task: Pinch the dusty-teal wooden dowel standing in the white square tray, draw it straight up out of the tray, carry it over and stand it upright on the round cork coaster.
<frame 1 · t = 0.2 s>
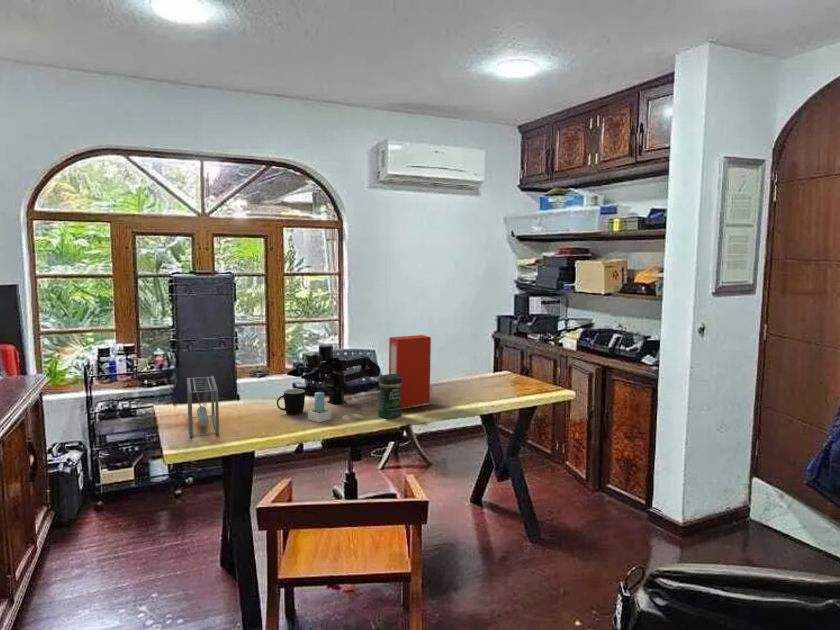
hand: (294, 375, 252), 17 cm above the table, tool horizontal, fingers open, 9 cm apart
mug: (291, 414, 253), on the table
white square tray: (319, 420, 245), on the table
dowel: (319, 418, 245), resting on white square tray
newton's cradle: (202, 426, 235), on the table
coaster: (353, 418, 248), on the table
file binder: (409, 406, 269), on the table
coffee jar: (390, 417, 251), on the table
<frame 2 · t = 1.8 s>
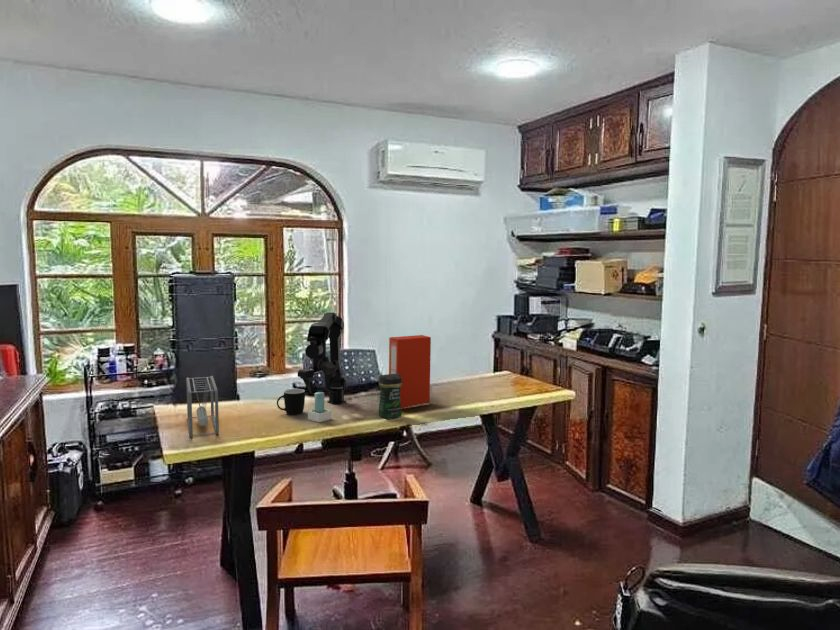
hand: (319, 391, 244), 12 cm above the table, tool pointing down, fingers open, 9 cm apart
nothing on the table moved.
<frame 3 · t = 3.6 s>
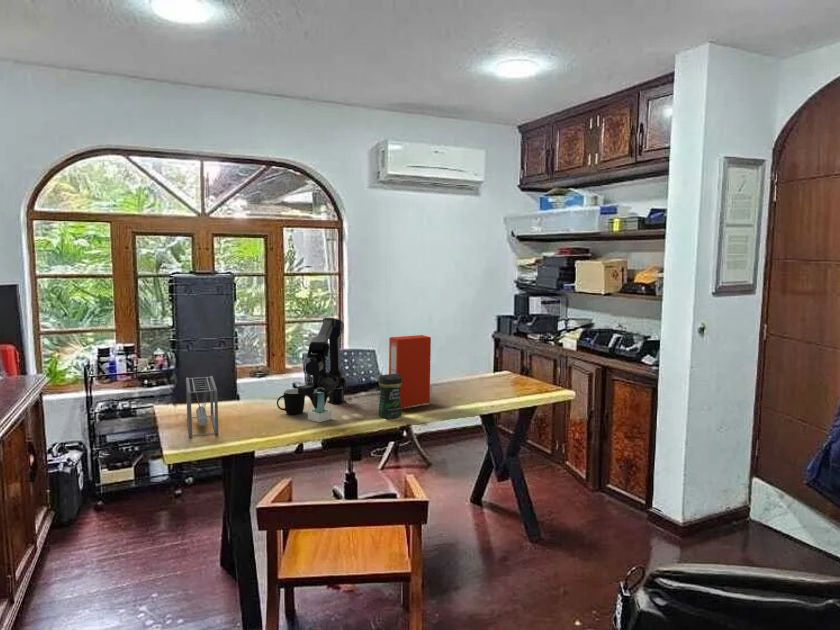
hand: (319, 407, 244), 6 cm above the table, tool pointing down, fingers closed on dowel, 4 cm apart
dowel: (319, 418, 245), resting on white square tray, touching gripper
everything else where it was.
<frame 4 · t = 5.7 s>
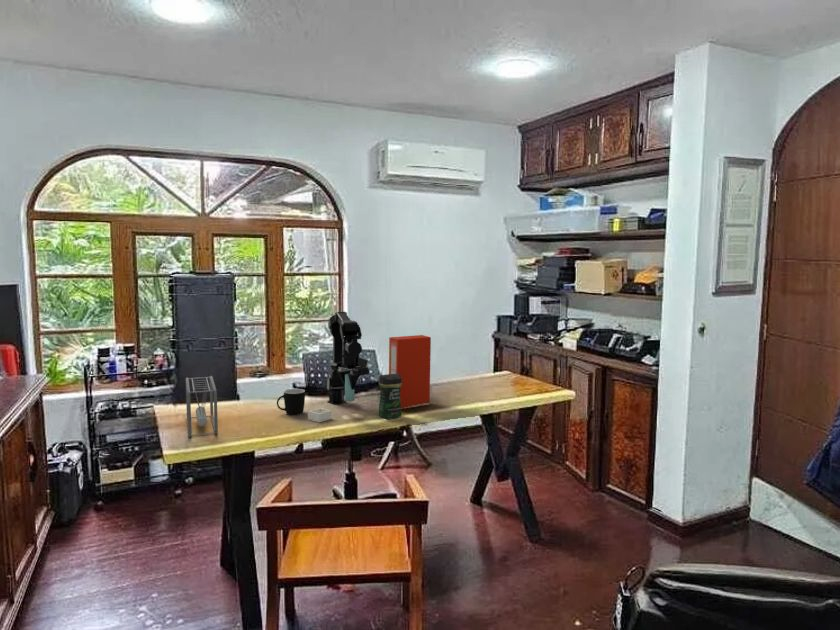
hand: (349, 388, 246), 13 cm above the table, tool pointing down, fingers closed on dowel, 4 cm apart
dowel: (349, 400, 247), point 8 cm above the table, touching gripper
everything else where it was.
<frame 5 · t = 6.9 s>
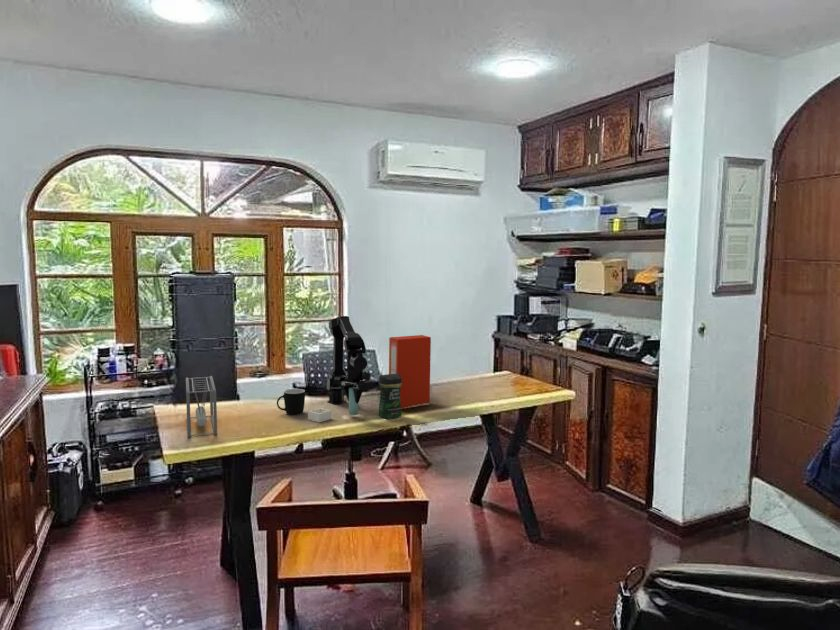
hand: (353, 402, 247), 7 cm above the table, tool pointing down, fingers closed on dowel, 4 cm apart
dowel: (353, 413, 248), point 2 cm above the table, touching gripper
everything else where it was.
when the fingers open (6 cm above the table, at t = 7.8 s): dowel stays where it is, resting on coaster.
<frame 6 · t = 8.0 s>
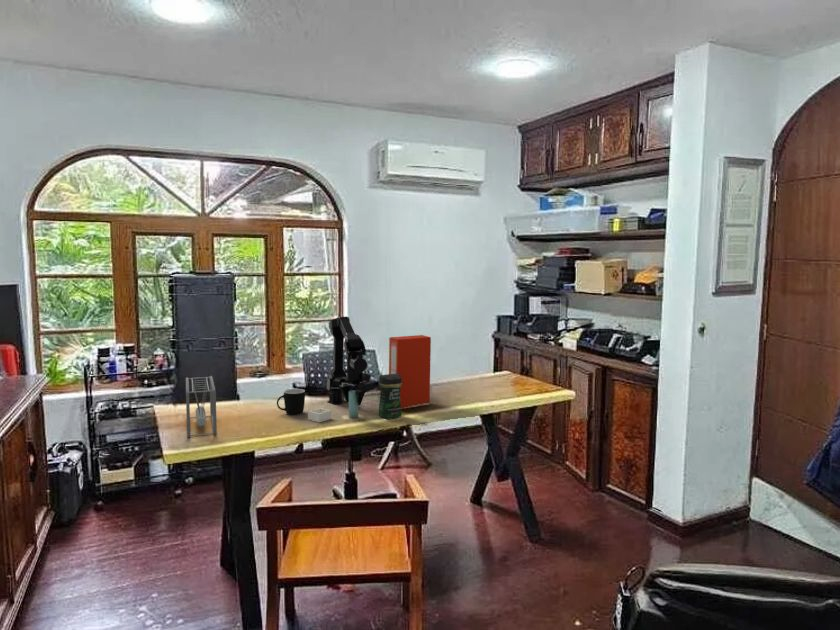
hand: (353, 403, 247), 6 cm above the table, tool pointing down, fingers open, 6 cm apart
dowel: (353, 416, 248), point 1 cm above the table, touching coaster
everything else where it was.
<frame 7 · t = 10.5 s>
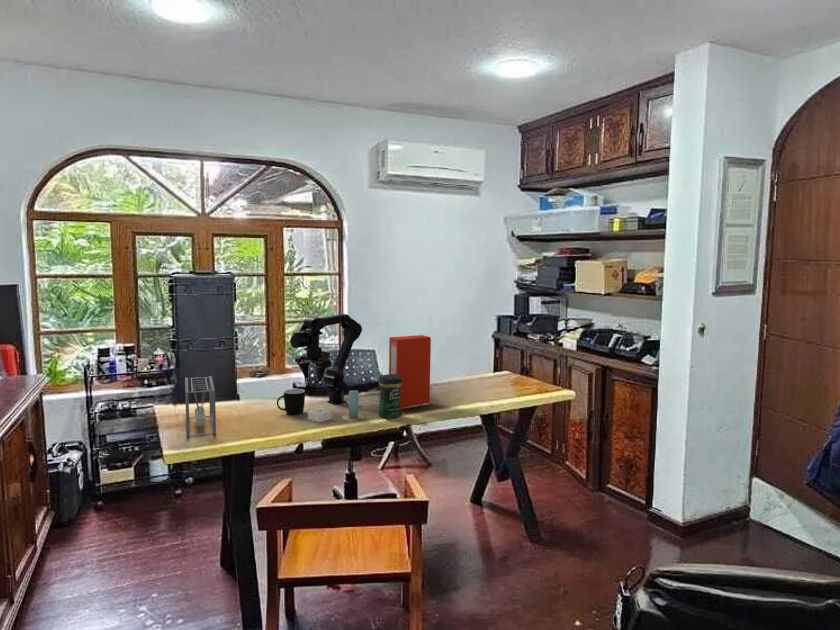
hand: (313, 379, 262), 13 cm above the table, tool pointing down, fingers open, 9 cm apart
nothing on the table moved.
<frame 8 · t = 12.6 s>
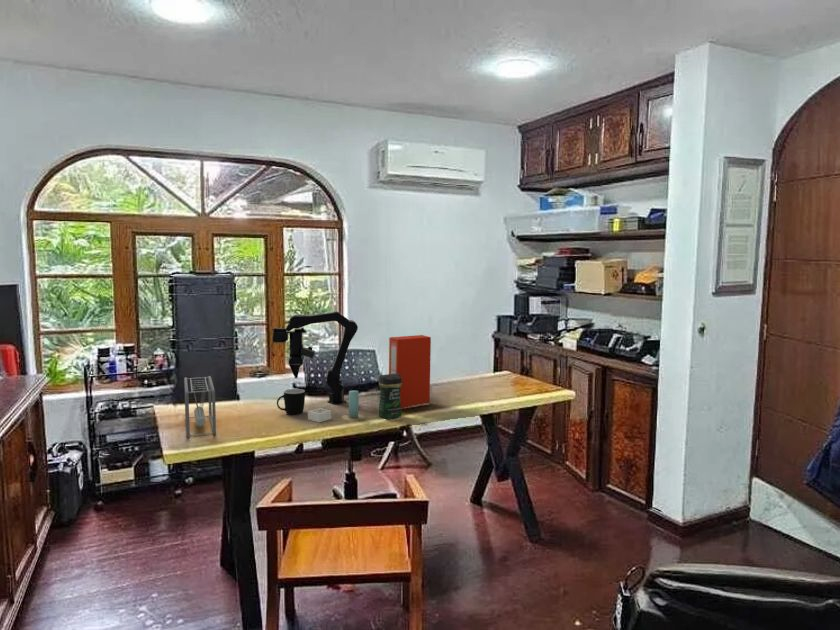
hand: (296, 376, 269), 13 cm above the table, tool pointing down, fingers open, 9 cm apart
at the end: dowel inside the target area on the coaster (0.0 cm from its centre), point 0.6 cm above the coaster's base; dowel tilted 0°; the gripper is holding nothing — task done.
